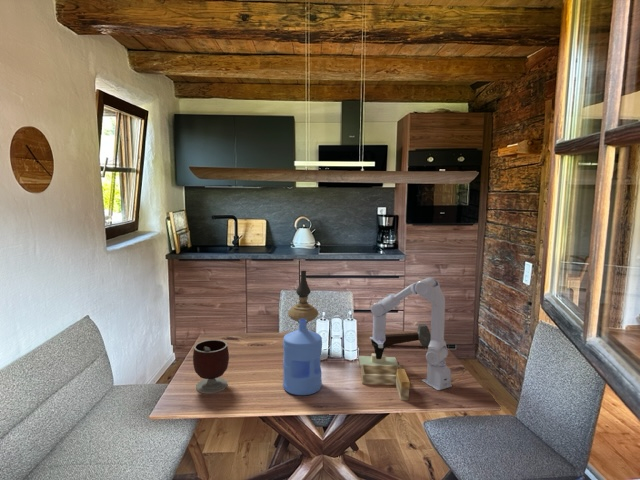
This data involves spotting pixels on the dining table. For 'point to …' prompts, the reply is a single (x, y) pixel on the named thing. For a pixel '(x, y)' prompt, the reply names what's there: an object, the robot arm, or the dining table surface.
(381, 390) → the dining table surface
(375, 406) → the dining table surface
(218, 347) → the mate gourd
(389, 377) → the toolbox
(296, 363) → the water jug
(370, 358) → the lid
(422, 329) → the hammer
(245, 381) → the dining table surface
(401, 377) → the golden block
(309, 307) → the oil lamp
